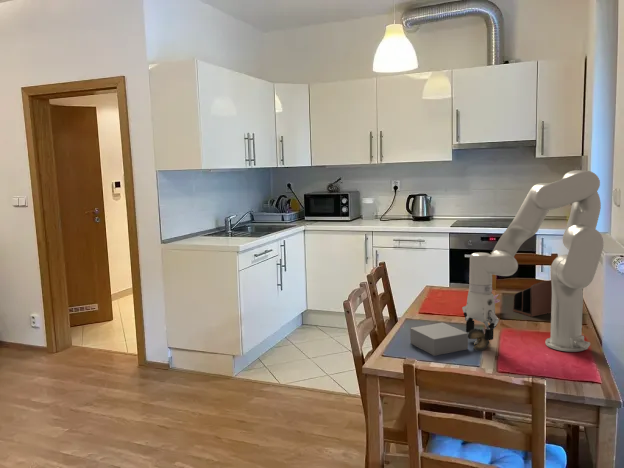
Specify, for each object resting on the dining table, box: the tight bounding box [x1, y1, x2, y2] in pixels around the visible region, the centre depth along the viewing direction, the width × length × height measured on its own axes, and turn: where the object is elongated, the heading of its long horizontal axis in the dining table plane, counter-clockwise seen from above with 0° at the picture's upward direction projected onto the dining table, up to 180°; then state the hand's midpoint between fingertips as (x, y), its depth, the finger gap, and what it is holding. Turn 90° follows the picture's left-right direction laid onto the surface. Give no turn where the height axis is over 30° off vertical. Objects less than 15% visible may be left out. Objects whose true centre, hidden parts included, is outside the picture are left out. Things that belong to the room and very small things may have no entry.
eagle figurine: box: [468, 328, 490, 351], centre depth 179 cm, size 8×7×9 cm
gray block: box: [409, 322, 469, 356], centre depth 181 cm, size 14×14×6 cm
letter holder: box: [512, 279, 552, 318], centre depth 219 cm, size 10×20×14 cm, turn 115°
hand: (479, 335), depth 181 cm, fingers open, 9 cm apart
